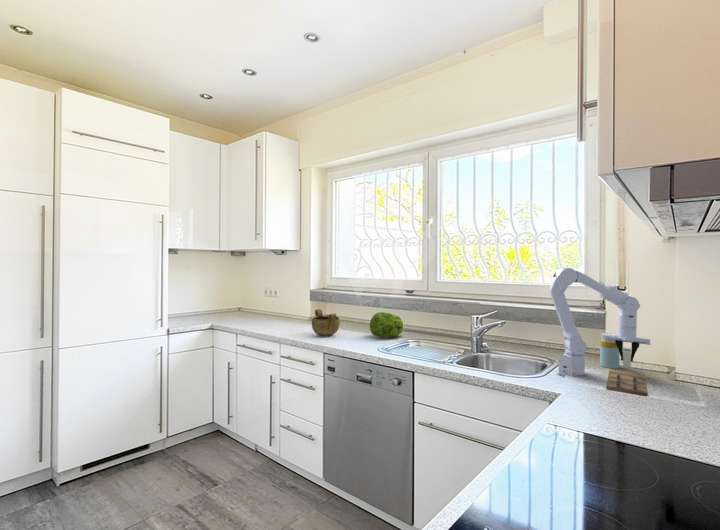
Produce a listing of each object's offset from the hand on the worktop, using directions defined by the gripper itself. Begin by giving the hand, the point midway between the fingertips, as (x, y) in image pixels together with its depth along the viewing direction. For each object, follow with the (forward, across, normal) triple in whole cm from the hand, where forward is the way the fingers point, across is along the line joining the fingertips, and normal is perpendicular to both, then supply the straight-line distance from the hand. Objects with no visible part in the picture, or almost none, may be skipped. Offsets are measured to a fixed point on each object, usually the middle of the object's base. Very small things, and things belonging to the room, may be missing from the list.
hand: (626, 360), depth 152 cm
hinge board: (+7, 0, -7) cm, 10 cm away
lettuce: (+8, -118, +13) cm, 119 cm away
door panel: (+2, 0, 0) cm, 2 cm away
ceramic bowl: (+8, -151, -6) cm, 151 cm away
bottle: (+8, -6, +12) cm, 15 cm away
